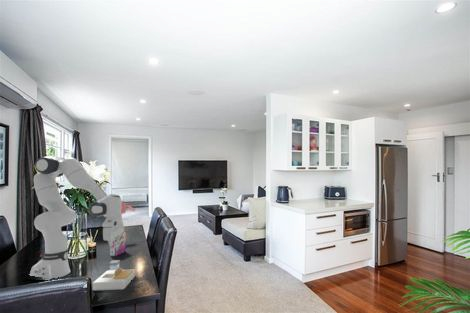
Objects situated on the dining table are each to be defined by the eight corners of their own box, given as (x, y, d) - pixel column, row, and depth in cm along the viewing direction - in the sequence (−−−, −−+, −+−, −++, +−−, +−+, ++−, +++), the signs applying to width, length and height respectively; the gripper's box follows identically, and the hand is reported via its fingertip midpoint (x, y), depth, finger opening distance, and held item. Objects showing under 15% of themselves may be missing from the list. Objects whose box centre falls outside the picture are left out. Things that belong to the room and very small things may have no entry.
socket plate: (92, 290, 134) (92, 282, 134) (107, 277, 150) (107, 270, 150) (123, 289, 134) (123, 281, 134) (135, 276, 150) (135, 269, 150)
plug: (109, 274, 154) (108, 263, 155) (112, 271, 159) (112, 260, 159) (116, 273, 154) (116, 262, 155) (120, 270, 159) (119, 260, 159)
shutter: (113, 278, 137) (113, 272, 138) (120, 271, 146) (120, 266, 147) (126, 278, 138) (126, 272, 138) (132, 271, 147) (132, 265, 147)
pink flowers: (101, 243, 220) (101, 202, 221) (130, 237, 239) (130, 199, 240) (108, 247, 210) (108, 204, 211) (138, 240, 229) (138, 200, 230)
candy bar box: (115, 256, 185) (115, 233, 186) (109, 256, 187) (109, 233, 187) (126, 251, 196) (125, 229, 197) (120, 251, 197) (120, 229, 198)
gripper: (116, 217, 168) (116, 239, 168) (100, 224, 148) (100, 249, 147) (126, 217, 168) (126, 238, 168) (111, 224, 148) (112, 248, 147)
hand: (114, 243), depth 157 cm, fingers open, 7 cm apart
